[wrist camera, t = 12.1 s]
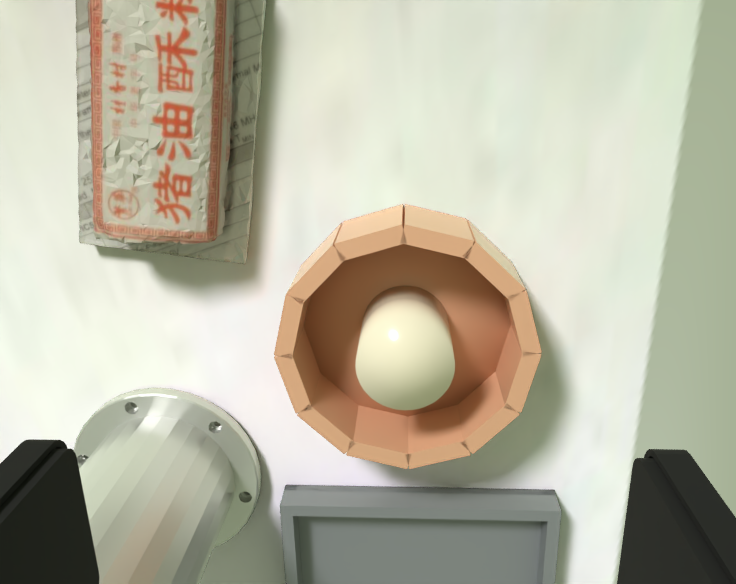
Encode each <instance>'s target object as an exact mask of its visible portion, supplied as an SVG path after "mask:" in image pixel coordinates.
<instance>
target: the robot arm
mask: <svg viewBox="0 0 736 584" xmlns="http://www.w3.org/2000/svg"><path fill="white" fill-rule="evenodd" d="M260 485H261V472H260V464H259V460H258V457H257V454H256V450H255V448H254V446H253V445H252V443H251V441H250V439H249V437H248V435H247V434H246V433H245V432H244V430H243V429H242V428H241V427H240V425H239V424H238V423H237V422H236V421H235V420H234V419H233V418H232V417H231V416H230V415H228V414H227V413H226V412H225V411H224V410H223V409H221V408H219V407H218V406H216V405H214V404H213V403H211V402H210V401H208V400H206V399H204V398H201V397H199V396H196V395H194V394H191V393H188V392H184V391H179V390H175V389H167V388H147V389H138V390H134V391H131V392H127V393H124V394H121V395H119V396H117V397H115V398H113V399H112V400H110V401H108V402H106V403H105V404H104V405H103V406H102V407H100V408H99V409H98V410H97V411H96V412H95V413H94V414H93V415H92V416H91V418H90V419H89V420H88V421H87V422H86V423H85V425H84V426H83V428H82V430H81V431H80V433H79V435H78V437H77V439H76V443H75V447H74V450H72V449H67V446H66V444H65V443H64V442H63V441H61V440H25V441H24V442H22V443H21V444H20V445H19V446H18V447H17V448H16V449H15V450H14V451H13V452H12V453H11V454H10V455H9V456H8V457H7V458H6V459H5V460H4V461H3V462H2V463H1V464H0V584H199V583H200V580H201V578H202V575H203V573H204V570H205V568H206V565H207V563H208V561H209V558H210V556H211V553H212V551H213V548H215V547H217V546H219V545H221V544H223V543H225V542H227V541H228V540H230V539H231V538H232V537H234V536H235V535H236V534H238V532H239V531H240V530H241V529H242V528H243V527H244V526H245V524H246V523H247V522H248V520H249V518H250V516H251V515H252V513H253V511H254V509H255V506H256V503H257V500H258V497H259V492H260ZM617 584H736V518H735V516H734V515H733V513H732V512H731V511H730V509H729V508H728V506H727V505H726V504H725V502H724V501H723V500H722V498H721V497H720V495H719V494H718V493H717V491H716V490H715V488H714V487H713V485H712V484H711V483H710V481H709V480H708V478H707V477H706V476H705V474H704V473H703V472H702V470H701V469H700V467H699V466H698V465H697V463H696V462H695V461H694V459H693V458H692V456H691V455H690V454H689V453H688V452H687V451H686V450H663V449H662V450H661V449H660V450H659V449H649V450H648V451H647V452H646V454H645V456H644V458H637V459H635V461H634V463H633V468H632V475H631V483H630V491H629V498H628V506H627V513H626V521H625V528H624V536H623V543H622V551H621V558H620V566H619V574H618V581H617Z"/></svg>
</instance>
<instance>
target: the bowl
mask: <svg viewBox="0 0 736 584" xmlns="http://www.w3.org/2000/svg"><path fill="white" fill-rule="evenodd" d="M404 285H406V286H415V287H419V288H422V289H424V290H427V291H428V292H430V293H432V294H433V295H434V296H435V297H436V298H437V299H438V300H439V301H440V302H441V303H442V305H443V306H444V308H445V310H446V313H447V315H448V320H449V327H450V333H451V340H452V346H453V352H454V359H455V372H454V377H453V380H452V382H451V384H450V386H449V388H448V389H447V391H446V392H445V393H444V394H443V395H442V396H441V397H440V398H439V399H438V400H437V401H435V402H434V403H432V404H430V405H428V406H426V407H423V408H420V409H415V410H396V409H392V408H388V407H386V406H383V405H381V404H379V403H378V402H376V401H375V400H373V399H372V398H371V397H370V396H369V395H368V394H367V393H366V392H365V391H364V390H363V388H362V386H361V385H360V383H359V380H358V378H357V374H356V367H355V364H356V355H357V350H358V344H359V339H360V333H361V327H362V322H363V316H364V313H365V310H366V308H367V306H368V305H369V303H370V302H371V301H372V300H373V299H374V298H375V297H376V296H377V295H378V294H380V293H381V292H383V291H385V290H387V289H389V288H392V287H396V286H404ZM541 352H542V351H541V347H540V343H539V339H538V335H537V331H536V327H535V323H534V319H533V315H532V311H531V306H530V302H529V298H528V294H527V291H526V289H525V287H524V285H523V283H522V281H521V279H520V277H519V275H518V273H517V271H516V269H515V267H514V265H513V264H512V262H511V261H510V260H509V259H508V258H507V257H506V256H505V255H504V254H503V253H502V252H501V251H500V250H499V249H498V248H497V247H496V246H495V245H494V244H493V243H492V242H491V241H490V240H489V239H488V238H487V237H485V236H484V235H483V234H482V233H481V232H480V231H479V230H478V229H477V228H476V227H475V226H474V225H473V224H472V223H471V222H470V221H469V220H466V218H461V217H457V216H453V215H449V214H445V213H440V212H436V211H432V210H428V209H423V208H419V207H415V206H411V205H407V204H405V207H403V204H402V205H398V206H395V207H392V208H388V209H385V210H381V211H378V212H374V213H371V214H368V215H364V216H361V217H357V218H354V219H350V220H347V221H344V222H343V224H342V223H341V224H340V225H339V226H338V227H337V228H336V229H335V230H334V231H333V232H332V233H331V234H330V235H329V237H328V238H327V239H326V240H325V241H324V242H323V243H322V244H321V245H320V246H319V247H318V248H317V249H316V250H315V251H314V252H313V254H312V255H311V256H310V257H309V258H308V259H307V260H306V261H305V262H304V263H303V264H302V265H301V267H300V269H299V271H298V273H297V275H296V277H295V278H294V280H293V282H292V284H291V286H290V288H289V290H288V292H287V294H286V296H285V301H284V306H283V311H282V317H281V322H280V327H279V332H278V337H277V342H276V347H275V352H274V355H275V357H274V358H275V361H276V364H277V366H278V369H279V371H280V374H281V377H282V379H283V382H284V384H285V387H286V390H287V392H288V395H289V397H290V400H291V403H292V405H293V408H294V410H295V413H298V414H297V416H299V417H300V418H301V419H302V420H303V421H305V422H306V423H307V424H308V425H309V426H311V427H312V428H313V429H314V430H315V431H317V432H318V433H319V434H320V435H322V436H323V437H324V438H325V439H326V440H328V441H329V442H330V443H331V444H332V445H334V446H335V447H336V448H337V449H338V450H340V451H341V452H342V453H343V454H345V453H346V452H347V454H346V455H347V456H352V457H356V458H361V459H365V460H369V461H374V462H378V463H382V464H387V465H391V466H395V467H400V468H404V469H407V468H408V466H409V469H413V468H417V467H421V466H426V465H430V464H435V463H439V462H443V461H448V460H452V459H457V458H461V457H465V456H470V452H471V453H472V454H474V453H475V452H476V451H477V450H478V449H480V448H481V447H482V446H483V445H484V444H486V443H487V442H488V441H489V440H490V439H491V438H493V437H494V436H495V435H496V434H497V433H499V432H500V431H501V430H502V429H503V428H505V427H506V426H507V425H508V424H509V423H510V422H512V421H513V420H514V419H515V418H516V417H518V416H519V415H520V413H519V412H522V409H523V406H524V404H525V401H526V398H527V395H528V392H529V389H530V387H531V384H532V381H533V378H534V375H535V372H536V369H537V367H538V364H539V361H540V358H541Z"/></svg>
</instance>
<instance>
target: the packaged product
mask: <svg viewBox="0 0 736 584" xmlns="http://www.w3.org/2000/svg"><path fill="white" fill-rule="evenodd" d="M265 10H266V0H76V19H77V21H76V33H77V35H76V45H77V60H76V74H77V83H78V86H77V114H78V142H79V150H78V184H79V191H78V197H79V227H80V231H79V242H80V243H84V244H91V245H97V246H104V247H115V248H122V249H128V250H136V251H146V252H155V253H165V254H171V255H179V256H186V257H193V258H199V259H207V260H216V261H223V262H236V263H242V264H245V263H246V260H247V250H248V241H249V232H250V221H251V210H252V199H253V180H252V178H253V165H254V152H255V139H256V126H257V112H258V105H259V98H260V91H261V73H262V46H261V45H262V39H263V29H264V20H265Z"/></svg>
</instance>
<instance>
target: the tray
mask: <svg viewBox="0 0 736 584" xmlns="http://www.w3.org/2000/svg"><path fill="white" fill-rule="evenodd" d="M280 513H281V526H282V539H283V552H284V565H285V577H286V584H555V576H556V565H557V554H558V543H559V533H560V522H561V508H560V505H559V502H558V500H557V497H556V494H555V491H554V490H536V489H482V488H428V487H373V486H319V485H286V486H285V490H284V493H283V497H282V500H281V503H280Z"/></svg>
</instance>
